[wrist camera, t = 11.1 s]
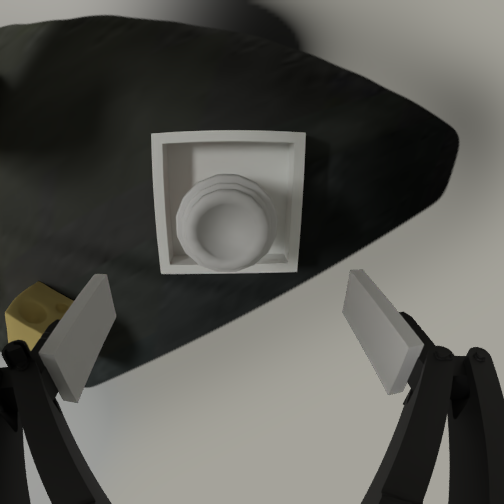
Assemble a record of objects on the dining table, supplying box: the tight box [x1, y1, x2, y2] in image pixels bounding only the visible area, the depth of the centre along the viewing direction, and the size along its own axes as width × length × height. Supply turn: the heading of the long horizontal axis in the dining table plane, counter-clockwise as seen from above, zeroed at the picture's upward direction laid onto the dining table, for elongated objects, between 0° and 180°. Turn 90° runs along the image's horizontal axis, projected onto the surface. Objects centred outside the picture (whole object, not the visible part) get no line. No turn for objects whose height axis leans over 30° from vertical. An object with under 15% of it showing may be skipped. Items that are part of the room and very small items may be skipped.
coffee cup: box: [176, 174, 278, 272], centre depth 30 cm, size 9×9×12 cm
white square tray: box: [151, 130, 306, 274], centre depth 35 cm, size 17×17×4 cm
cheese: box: [5, 281, 74, 351], centre depth 37 cm, size 10×11×10 cm
